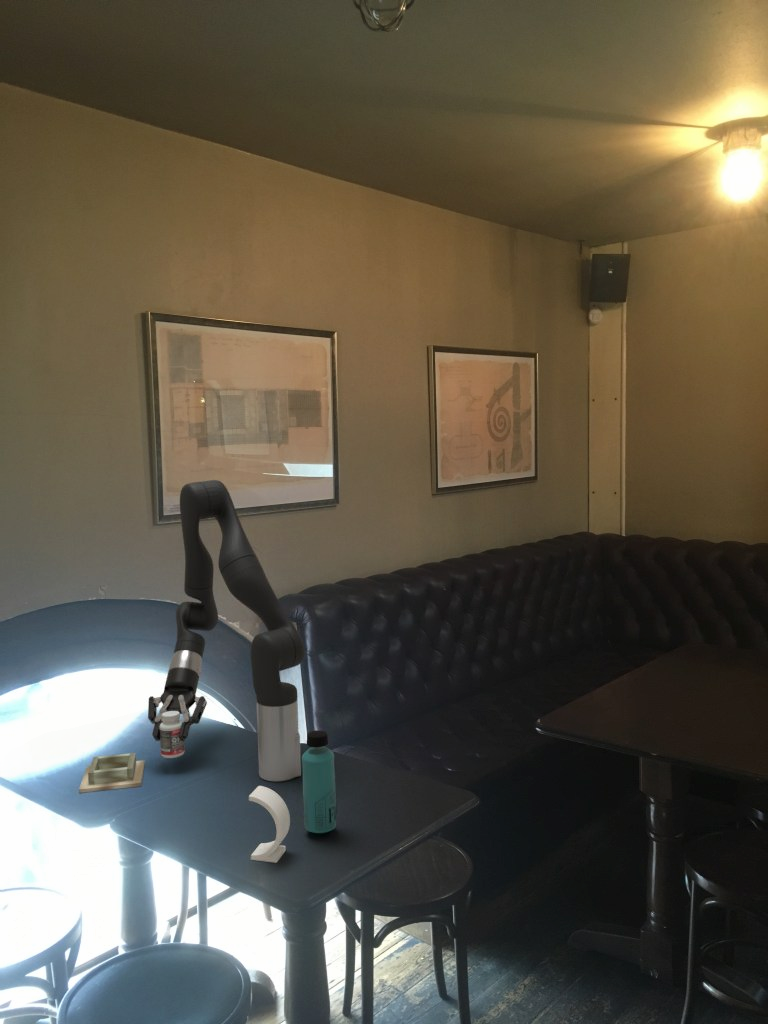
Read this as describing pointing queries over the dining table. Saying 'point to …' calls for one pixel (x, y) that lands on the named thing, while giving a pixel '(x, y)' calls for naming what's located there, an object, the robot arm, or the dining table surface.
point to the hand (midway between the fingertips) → (169, 739)
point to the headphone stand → (282, 821)
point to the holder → (112, 773)
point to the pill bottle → (171, 735)
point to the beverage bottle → (319, 784)
